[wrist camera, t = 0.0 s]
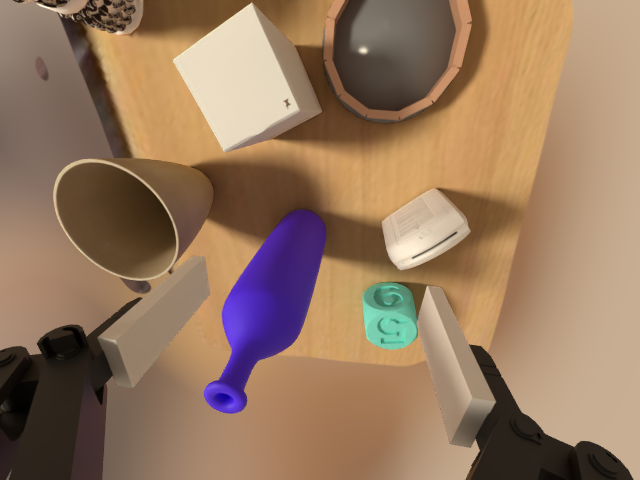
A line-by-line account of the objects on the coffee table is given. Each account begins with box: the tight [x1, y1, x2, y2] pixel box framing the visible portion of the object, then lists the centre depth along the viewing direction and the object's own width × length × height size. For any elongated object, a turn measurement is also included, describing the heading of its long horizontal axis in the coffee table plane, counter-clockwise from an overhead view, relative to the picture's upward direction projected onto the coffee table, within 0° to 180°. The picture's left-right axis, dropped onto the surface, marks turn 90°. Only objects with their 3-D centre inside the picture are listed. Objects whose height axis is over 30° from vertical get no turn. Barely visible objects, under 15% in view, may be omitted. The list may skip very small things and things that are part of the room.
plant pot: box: [53, 158, 214, 280], centre depth 38 cm, size 15×15×16 cm
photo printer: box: [382, 188, 471, 270], centre depth 36 cm, size 10×4×12 cm, turn 129°
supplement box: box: [173, 3, 322, 152], centre depth 30 cm, size 9×9×15 cm
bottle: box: [204, 210, 326, 413], centre depth 32 cm, size 8×8×30 cm
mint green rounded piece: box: [363, 282, 418, 349], centre depth 46 cm, size 8×8×8 cm
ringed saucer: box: [323, 0, 472, 123], centre depth 32 cm, size 17×17×3 cm
